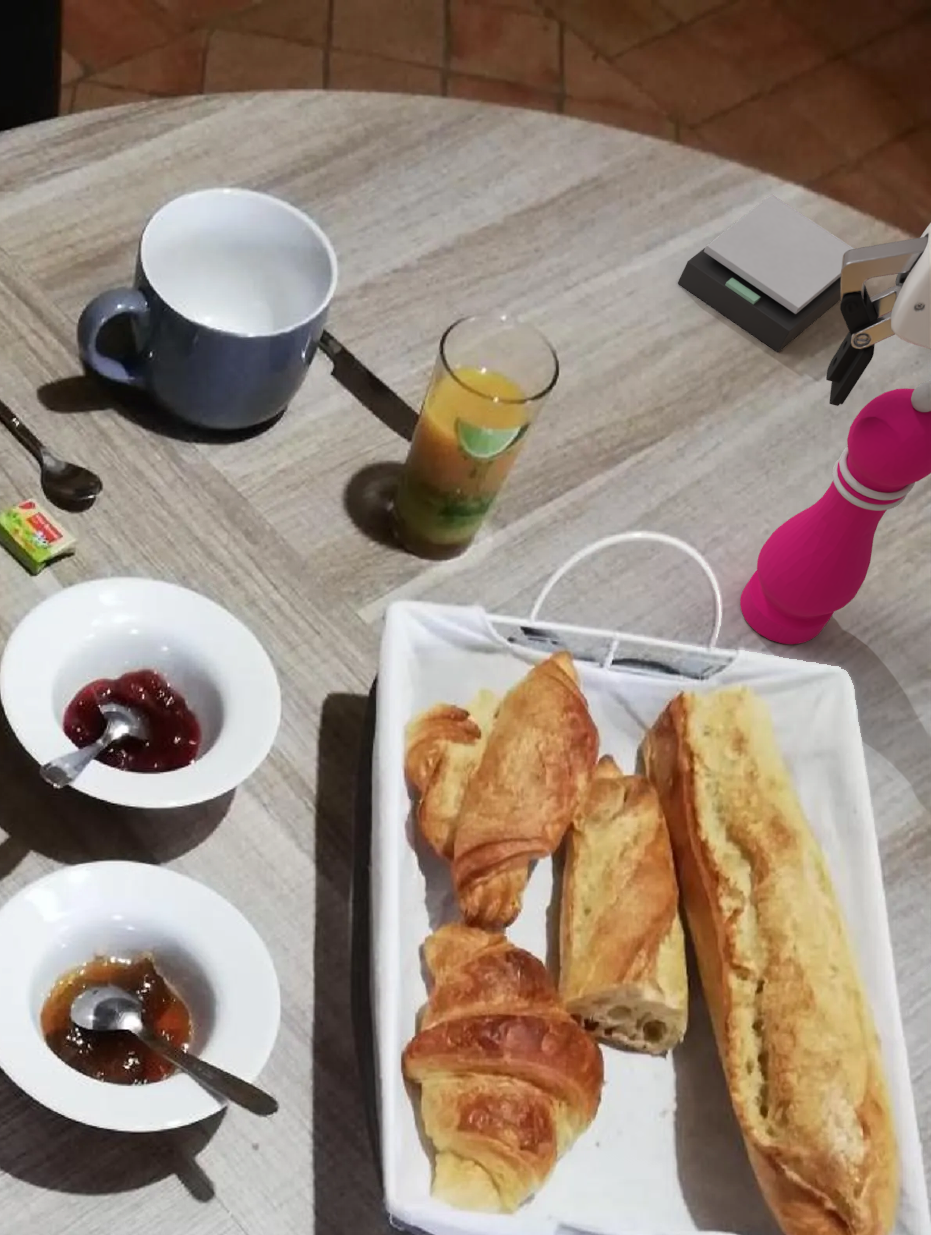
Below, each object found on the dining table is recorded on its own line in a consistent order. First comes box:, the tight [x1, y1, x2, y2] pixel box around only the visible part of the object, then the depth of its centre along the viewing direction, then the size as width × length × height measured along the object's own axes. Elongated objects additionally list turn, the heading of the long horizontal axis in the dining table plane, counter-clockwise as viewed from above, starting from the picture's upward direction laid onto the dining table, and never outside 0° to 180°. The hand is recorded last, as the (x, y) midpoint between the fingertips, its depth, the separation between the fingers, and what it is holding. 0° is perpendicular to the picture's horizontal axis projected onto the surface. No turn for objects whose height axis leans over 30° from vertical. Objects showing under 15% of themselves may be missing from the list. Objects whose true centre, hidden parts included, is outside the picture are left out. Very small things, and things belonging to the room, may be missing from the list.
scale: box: [677, 193, 855, 353], centre depth 131 cm, size 10×11×3 cm
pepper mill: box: [739, 380, 931, 645], centre depth 110 cm, size 7×7×20 cm
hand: (911, 409), depth 103 cm, fingers open, 9 cm apart
